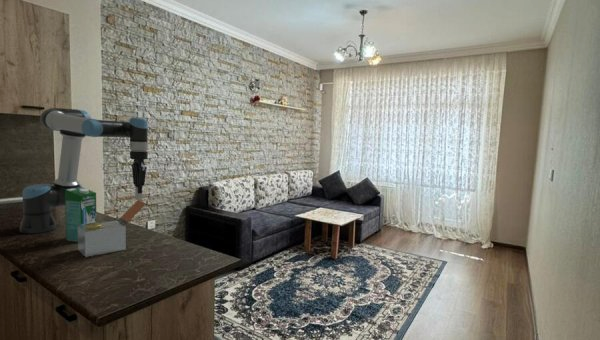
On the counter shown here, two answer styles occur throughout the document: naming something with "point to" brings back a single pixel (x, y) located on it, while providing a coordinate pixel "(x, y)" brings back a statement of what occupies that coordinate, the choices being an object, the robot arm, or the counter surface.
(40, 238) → the counter surface
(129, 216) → the orange tab
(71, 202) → the milk carton
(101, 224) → the brass pin
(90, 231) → the block
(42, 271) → the counter surface
